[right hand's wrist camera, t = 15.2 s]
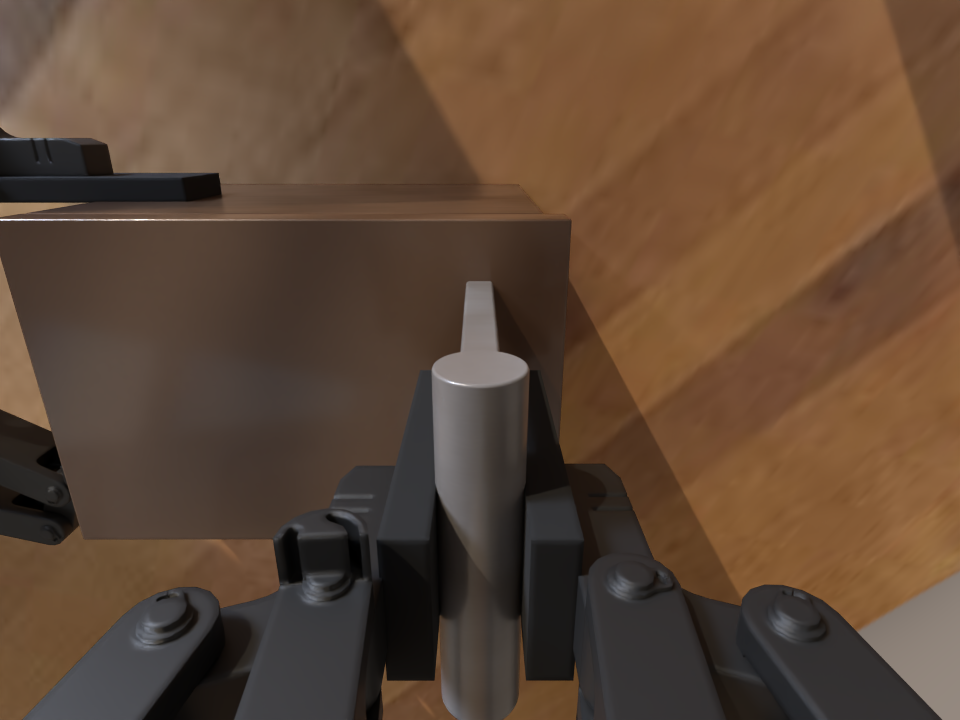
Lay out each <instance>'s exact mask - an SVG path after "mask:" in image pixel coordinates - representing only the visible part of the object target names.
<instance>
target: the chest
mask: <svg viewBox="0 0 960 720" xmlns="http://www.w3.org/2000/svg"><path fill="white" fill-rule="evenodd" d="M220 185H221V191H222V194H220V195H216V196H211V197H206V198H202V199H197V200H193V201H188V202H91V203H85V204H79V205H73V206H67V207H61V208H55V209H49V210H43V211H37V212H31V213H27V214H543V212H542V211H541V210H540V209H539V208H538V207H537V205H536V204H535V203H534V202H533V201H532V200H531V199H530V197H529V196H528V195H527V194H526V193H525V192H524V190H523V189H522V188H521V187H520V185H518V184H220Z"/></svg>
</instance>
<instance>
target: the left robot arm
mask: <svg viewBox="0 0 960 720" xmlns="http://www.w3.org/2000/svg"><path fill="white" fill-rule="evenodd" d="M220 194H222V191H221V185H220V178H219V173H113V169H112V164H111V160H110V155H109V150H108V146H107V144H105V143H102V142H99V141H97V140H94V139H92V138H17V137H14V136H11V135H9V134H8V133H6V132H5V131H4V130H3V129H2V128H0V203H91V202H188V201H193V200H197V199H202V198H206V197H211V196H216V195H220ZM78 526H79V522H78V519H77V515H76V512H75V508H74V505H73V502H72V498H71V495H70V491H69V488H68V485H67V481H66V478H65V474H64V471H63V468H62V464H61V461H60V457H59V454H58V451H57V447H56V444H55V440H54V437H53V434H52V432H51V431H49V430H47V429H44V428H42V427H40V426H37V425H35V424H33V423H30V422H28V421H26V420H23V419H21V418H19V417H16V416H14V415H12V414H10V413H7V412H5V411H3V410H0V535H4V536H9V537H14V538H19V539H23V540H28V541H33V542H38V543H43V544H47V545H57V544H60V543H61V542H62V541H63V540H64V539H65V538H66V537H67V536H68V535H70V534H71V533H72V532H73V531H74V530H75V529H76V528H77V527H78Z"/></svg>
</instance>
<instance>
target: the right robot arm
mask: <svg viewBox="0 0 960 720" xmlns="http://www.w3.org/2000/svg"><path fill="white" fill-rule="evenodd" d="M529 371H530V373H529V403H528V433H527V462H526V484H525V491H524V522H523V553H522V584H521V626H522V638H523V650H524V662H525V674H526V680H573V678H574V666H575V662H576V668H577V673H578V679H579V692H578V704H577V716H576V720H942V719H941V718H940V717H939V716H938V715H937V714H936V713H935V712H934V711H933V710H932V709H931V708H930V707H929V706H928V705H927V704H926V703H925V702H924V700H923V699H922V698H921V697H920V696H919V695H918V694H917V693H916V692H915V691H914V690H913V689H912V688H911V687H910V686H909V685H908V684H907V683H906V682H905V681H904V680H903V679H902V678H901V677H900V676H899V675H898V674H897V673H896V672H895V671H894V670H893V669H892V668H891V667H890V666H889V664H888V663H887V662H885V660H884V659H883V658H882V657H881V656H880V655H879V654H878V653H877V652H876V651H875V650H874V649H873V648H872V647H871V646H870V645H869V644H868V643H867V642H866V641H865V640H864V639H863V638H862V637H861V636H860V635H859V634H858V633H857V632H856V631H855V629H854V628H853V627H852V626H851V625H850V624H849V623H848V622H847V621H846V620H845V619H844V618H843V617H842V616H841V615H840V614H839V613H838V612H836V611H835V610H834V609H833V608H831V607H830V606H829V605H828V604H826V603H825V602H824V601H823V600H821V599H819V598H817V597H815V596H813V595H811V594H809V593H807V592H805V591H803V590H799V589H795V588H792V587H788V586H784V585H762V586H759V587H756V588H753V589H750V590H749V592H748V593H747V594H746V595H745V596H744V597H743V599H742V604H741V606H738V605H733V604H729V603H725V602H721V601H717V600H712V599H708V598H705V597H702V596H699V595H696V594H693V593H691V592H689V591H687V590H685V589H683V588H681V586H680V584H679V582H678V581H677V579H676V577H675V576H674V574H673V573H672V572H671V571H670V570H669V569H667V568H666V567H665V566H664V565H662V564H661V563H660V562H658V561H656V560H654V558H653V556H652V553H651V551H650V549H649V546H648V544H647V541H646V539H645V536H644V534H643V532H642V529H641V527H640V524H639V522H638V520H637V517H636V515H635V512H634V511H633V509H632V505H631V503H630V500H629V498H628V497H627V493H626V490H625V488H624V486H623V483H622V481H621V478H620V477H619V476H618V475H617V474H615V473H614V472H613V471H612V470H611V469H610V468H609V467H607V466H606V465H605V464H564V460H563V456H562V452H561V448H560V445H559V441H558V437H557V433H556V429H555V425H554V421H553V417H552V414H551V410H550V406H549V402H548V398H547V394H546V390H545V386H544V383H543V379H542V375H541V371H540V370H529ZM273 543H274V549H275V556H276V562H277V569H278V575H279V582H280V587H279V590H278V591H277V592H275V593H273V594H271V595H269V596H266V597H263V598H260V599H257V600H254V601H250V602H246V603H241V604H237V605H233V606H229V607H225V608H220V606H219V601H218V600H217V599H216V597H215V596H214V595H213V594H212V593H211V592H210V591H207V590H204V589H201V588H198V587H179V588H175V589H171V590H167V591H164V592H160V593H157V594H155V595H153V596H151V597H149V598H147V599H145V600H143V601H141V602H139V603H138V604H137V605H135V606H134V607H133V608H132V609H130V610H129V611H128V612H127V613H125V614H124V615H123V616H122V617H121V618H120V619H119V620H118V621H117V622H116V623H115V624H114V625H113V626H112V627H111V628H110V629H109V630H108V631H107V632H106V633H105V634H104V636H103V637H102V638H101V639H100V640H99V641H98V642H97V643H96V644H95V645H94V646H93V647H92V648H91V649H90V650H89V651H88V652H87V653H86V654H85V655H84V656H83V657H82V658H81V659H80V660H79V661H78V662H77V663H76V665H75V666H74V667H73V668H72V669H71V670H70V671H69V672H68V673H67V674H66V675H65V676H64V677H63V678H62V679H61V680H60V681H59V682H58V683H57V684H56V685H55V686H54V687H53V688H52V689H51V690H50V691H49V693H48V694H47V695H46V696H45V697H44V698H43V699H42V700H41V701H40V702H39V703H38V704H37V705H36V706H35V707H34V708H33V709H32V710H31V711H30V712H29V713H28V714H27V715H26V716H25V717H24V718H23V719H22V720H382V717H383V704H382V692H381V684H382V679H383V673H384V668H385V662H386V672H387V681H434V679H435V667H436V656H437V644H438V632H439V620H440V599H439V568H438V536H437V504H436V484H435V465H434V433H433V401H432V370H420V373H419V377H418V380H417V384H416V388H415V392H414V396H413V400H412V404H411V408H410V412H409V415H408V419H407V423H406V427H405V431H404V435H403V439H402V443H401V446H400V450H399V454H398V458H397V462H396V466H355V467H354V468H353V469H352V470H351V471H350V472H348V473H347V474H346V475H345V476H344V477H343V478H342V479H340V482H339V484H338V487H337V489H336V491H335V494H334V499H332V501H331V504H330V506H329V508H327V509H320V510H314V511H310V512H307V513H304V514H302V515H299V516H297V517H294V518H293V519H291V520H290V521H289V522H287V523H286V524H284V525H283V526H281V527H280V529H279V530H278V532H277V533H276V535H275V536H274V537H273Z"/></svg>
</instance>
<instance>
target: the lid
mask: <svg viewBox="0 0 960 720" xmlns="http://www.w3.org/2000/svg"><path fill="white" fill-rule="evenodd" d="M570 238H571V219H570V218H568V217H567V216H566V215H565V214H18V215H12V216H6V217H0V257H1V261H2V264H3V267H4V271H5V274H6V278H7V281H8V284H9V288H10V291H11V295H12V298H13V301H14V305H15V308H16V311H17V315H18V318H19V322H20V325H21V328H22V332H23V335H24V339H25V342H26V345H27V349H28V352H29V356H30V359H31V362H32V366H33V369H34V373H35V376H36V379H37V383H38V386H39V390H40V393H41V396H42V400H43V403H44V407H45V410H46V413H47V417H48V420H49V423H50V427H51V430H52V434H53V437H54V440H55V444H56V447H57V451H58V454H59V457H60V461H61V464H62V468H63V471H64V474H65V478H66V481H67V485H68V488H69V491H70V495H71V498H72V502H73V505H74V508H75V512H76V515H77V519H78V522H79V525H80V529H81V532H82V535H83V538H84V539H273V537H274V536H275V535H276V533H277V532H278V530H279V529H280V527H281V526H283V525H284V524H286V523H287V522H289V521H290V520H291V519H293V518H294V517H297V516H299V515H302V514H304V513H307V512H310V511H314V510H320V509H327V508H329V506H330V504H331V501H332V499H334V494H335V491H336V489H337V487H338V484H339V482H340V479H342V478H343V477H344V476H345V475H346V474H347V473H348V472H350V471H351V470H352V469H353V468H354V467H355V466H396V462H397V458H398V454H399V450H400V446H401V443H402V439H403V435H404V431H405V427H406V423H407V419H408V415H409V412H410V408H411V404H412V400H413V396H414V392H415V388H416V384H417V380H418V377H419V373H420V370H432V401H433V433H434V465H435V484H436V504H437V536H438V568H439V599H440V620H439V624H440V656H441V688H442V698H443V702H444V704H445V706H446V708H447V709H448V711H449V712H450V713H451V714H452V715H453V716H454V717H455V718H456V719H458V720H503V719H504V718H505V717H507V716H508V715H509V714H510V712H511V711H512V710H513V708H514V707H515V705H516V703H517V700H518V695H519V672H520V642H521V584H522V553H523V522H524V491H525V484H526V462H527V433H528V403H529V373H530V371H529V370H540V371H541V375H542V379H543V383H544V386H545V390H546V394H547V398H548V402H549V406H550V410H551V414H552V417H553V421H554V425H555V429H556V433H557V437H558V441H559V436H560V418H561V400H562V382H563V364H564V346H565V328H566V310H567V292H568V274H569V256H570Z"/></svg>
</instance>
